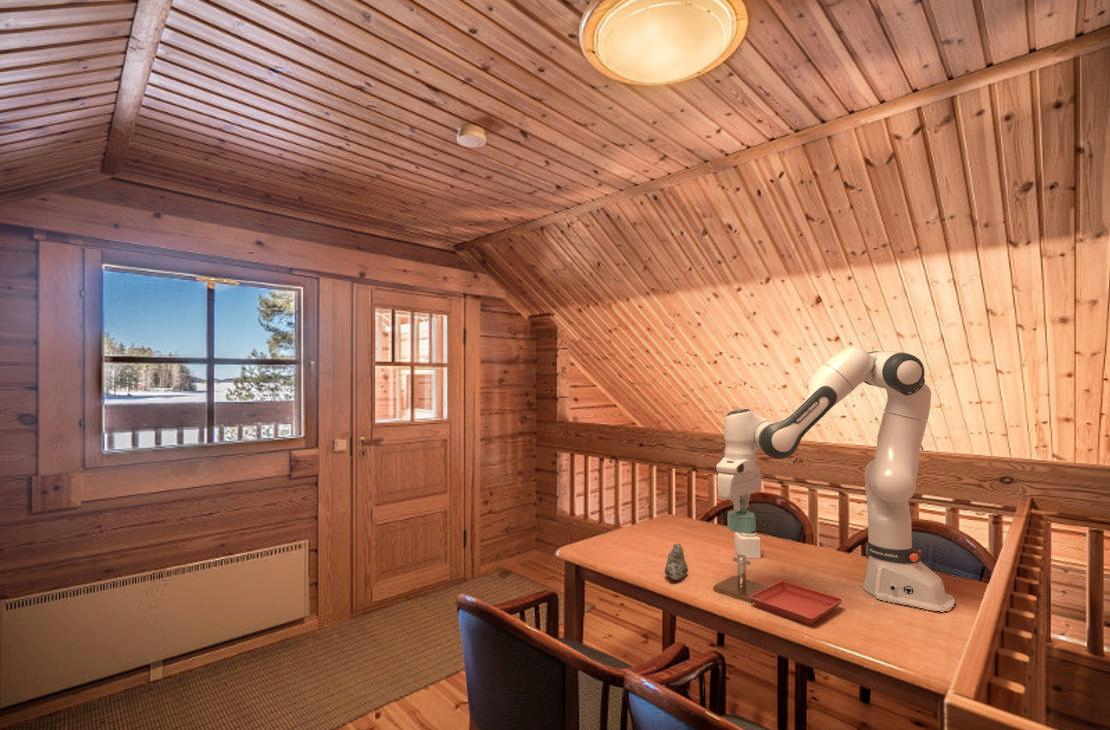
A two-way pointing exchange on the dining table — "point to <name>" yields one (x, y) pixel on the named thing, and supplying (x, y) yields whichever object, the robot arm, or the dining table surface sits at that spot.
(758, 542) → the medicine bottle
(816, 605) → the plant saucer
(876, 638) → the dining table surface
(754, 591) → the post
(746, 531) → the cap
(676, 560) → the mineral rock
